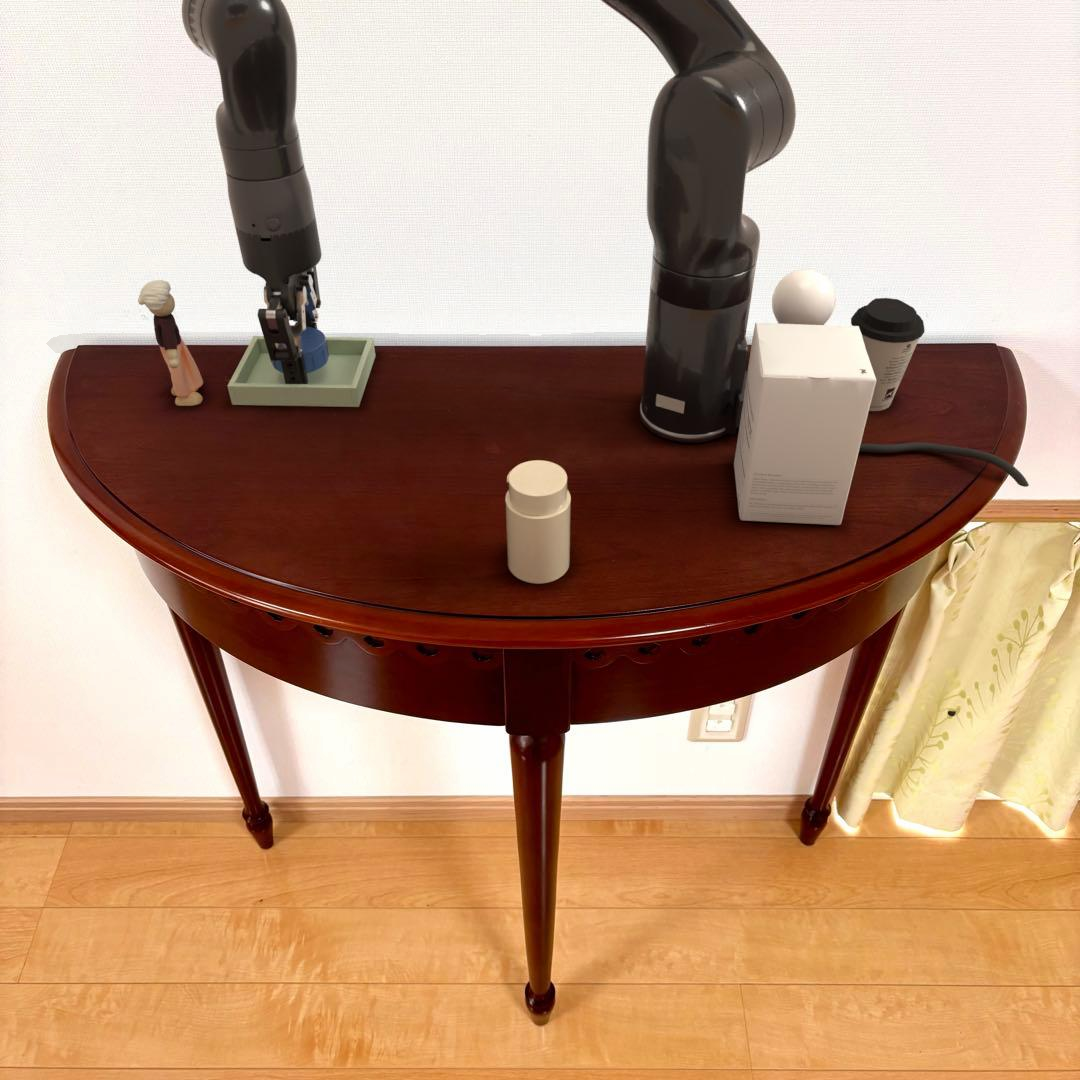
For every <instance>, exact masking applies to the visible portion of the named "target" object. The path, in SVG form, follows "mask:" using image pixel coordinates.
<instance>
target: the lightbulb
mask: <svg viewBox="0 0 1080 1080" xmlns="http://www.w3.org/2000/svg"><path fill="white" fill-rule="evenodd" d="M836 295H837V294H836V290H835V288H834V285H833V283H832V281H831V280H830V279H829V277H828V276H826V275H825V274H824V273H822V272H820V271H818V270H816V269H810V268H801V269H800V268H799V269H796V270H793V271H791V272H789V273H787V274H786V275H785V276H783V277H782V278H781V279H780V280H779V281H778V283H777V285H776V286H775V288H774V290H773V293H772V295H771V310H772V313H773V316H774V318H775V320H776V322H777V324H805V325H826V323H827V322H828V321H829V320H830V319H831V317H832V315H833V313H834V311H835V307H836V302H837V296H836Z"/></svg>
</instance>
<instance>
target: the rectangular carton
mask: <svg viewBox="0 0 1080 1080" xmlns="http://www.w3.org/2000/svg"><path fill="white" fill-rule="evenodd" d="M750 347H751V348H750V353H749V359H748V365H747V366H748V367H747V371H748V373H747V380H746V387H745V394H744V400H743V407H742V414H741V420H740V427H738V434H737V441H736V447H735V454H734V458H733V459H734V461H733V470H734V478H735V480H734V481H735V489H736V499H737V508H738V516H739V520H740V521H742V522H743V521H745V522H764V523H765V522H766V523H784V524H785V523H787V524H805V525H806V524H809V525H826V526H827V525H828V526H840V525H842V522H843V519H844V513H845V509H846V505H847V502H848V497H849V494H850V489H851V485H852V481H853V477H854V474H855V473H854V472H855V469H856V466H857V465H856V464H857V461H858V457H859V453H860V451H859V448H860V444H861V443H862V441H863V436H864V432H865V427H866V424H867V420H868V417H869V412H870V411H869V408H870V404H871V400H872V396H873V392H874V388H875V384H876V377H875V375H874V372H873V369H872V366H871V363H870V360H869V357H868V354H867V351H866V348H865V345H864V341H863V338H862V334H861V331H860V329H859V326H852V325H833V324H824V325H805V324H778V322H777V323H776V322H775V323H773V322H758V321H757V322H754V329H753V334H752V340H751V346H750Z"/></svg>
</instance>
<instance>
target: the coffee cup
mask: <svg viewBox="0 0 1080 1080" xmlns="http://www.w3.org/2000/svg"><path fill="white" fill-rule="evenodd" d="M850 325H851V326H859V329H860V331H861V334H862V338H863V341H864V345H865V348H866V351H867V354H868V357H869V360H870V363H871V366H872V369H873V372H874V375H875V377H876V384H875V388H874V392H873V396H872V400H871V404H870V408H869V412H881V411H884V410H886V409H889V407H890V406H891V405H892V403H893V400H894V398H895V396H896V393H897V391H898V389H899V386H900V384H901V382H902V379H903V378H904V375H905V373H906V370H907V368H908V366H909V363H910V361H911V359H912V356H913V354H914V352H915V349H916V348H917V345H918V342H919V341H920V338H921V337H923V335H924V334H925V332H926V331H925V324H924V320H923V319H922V317H921V316H920V315H919V314H918V313H917V310H916V309H915V307H913V306H911V305H909V304H908V303H906V302H904V301H903V300H900V299H898V298H890V297H878V298H877V297H875V298H874V299H872V300H871V301H870V302H869V303H867V305H863V306H861V307H859V308H858V309H857V310H856V311H855V312H854V314H853V315H852V316H851V318H850Z"/></svg>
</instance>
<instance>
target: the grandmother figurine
mask: <svg viewBox="0 0 1080 1080" xmlns="http://www.w3.org/2000/svg"><path fill="white" fill-rule="evenodd" d="M171 290H172V288H171V284H170V282H169V281H166V280H164V279H163V280H162V279H155V280H150V281H148V282H146V283H145V284H144V285H143V287H142V288H141V290H140V292H139V293H140V294H139V295H138V298H137V303H138V305H141V306H143V305H144V306H145V308H147V309H148V310H149V312H150V313H151V314H153V327H154V336H155V339H156V344H157V345H158V346H159V349H160V353H161V355H162V357H163V360H164V361H165V364H166V365H167V368H168V370H169V373H170V379H171V383H172V387H171V390H170V392H171V394H172V395H173V396H176V397H175V399H174V403H175V405H176V406H178V407H179V406H180V407H194V406H198V405H200V404H201V403H202V402H203V396H202V395H201V393H199V392H197V391H198V390H199V388H201V387H202V386H203V384H204V379H203V377H202V375H201V373H200V369H199V368H198V365H197V363H196V362H195V360H194V359H195V358H194V357H193V356H192V354H191V352H190V350H189V348H188V346H187V344H186V343H185V342H184V340H183V339H182V336H181V334H180V329H179V326H178V325H177V323H176V319H175V317H174V314H172V313H173V312H174V310H175V308H176V302H175V298H174V296H173V295H172V294H171V293H170V292H171Z"/></svg>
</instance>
